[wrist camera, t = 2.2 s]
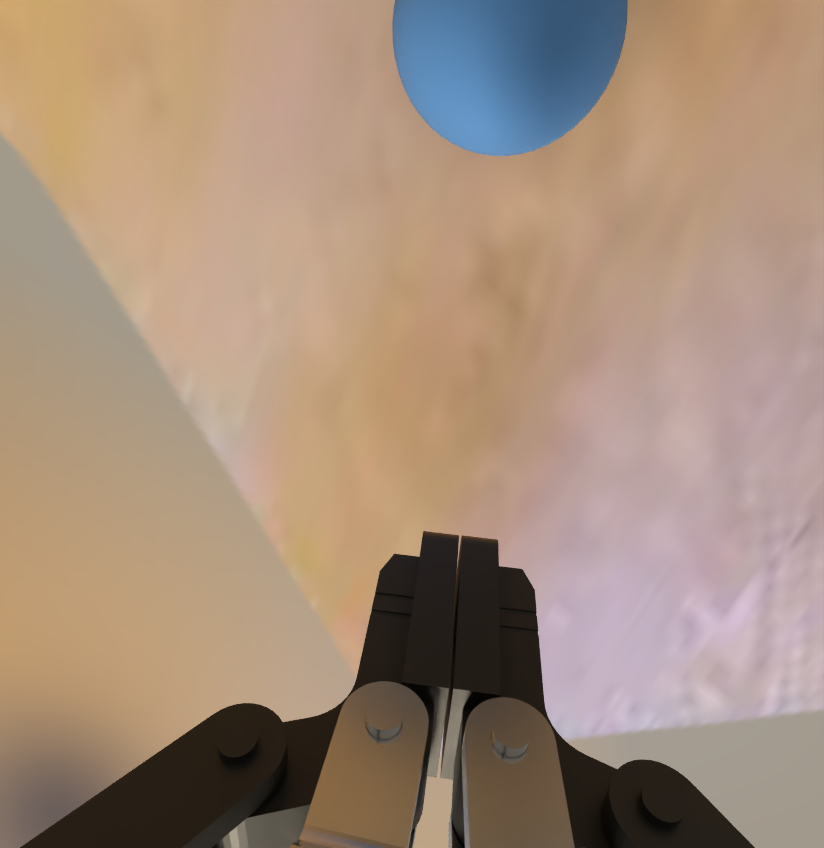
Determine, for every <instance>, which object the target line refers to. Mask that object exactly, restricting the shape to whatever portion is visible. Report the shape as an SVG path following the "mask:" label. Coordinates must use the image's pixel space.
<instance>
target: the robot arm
mask: <svg viewBox="0 0 824 848" xmlns="http://www.w3.org/2000/svg"><path fill="white" fill-rule="evenodd" d="M458 543H459V535H451V534H443V533H435V532H426V531H424V532H423V537H422V544H421V551H420V557H416V556H408V555H399V554H394V555H393V556H392V557H391V559H390V560H389V561H388V562H387V563H386V565H385V566H384V567H383V568H382V569H381V570H380V574H379V578H378V583H377V587H376V592H375V597H374V601H373V606H372V612H371V615H370V620H369V624H368V629H367V633H366V638H365V643H364V647H363V652H362V656H361V661H360V666H359V670H358V675H357V679H356V682H355V685H354V687H353V689H352V691H351V692H350V694H349V695H348V697H347V698H346V699H345V700H344V701H343V702H342V703H340V704H339V705H338V706H337V707H335V708H334V709H332V710H330V711H328V712H326V713H324V714H321V715H318V716H314V717H310V718H305V719H299V720H293V721H288V722H282V721H281V719H280V718H279V716H277V715H276V714H275V713H274V712H273V711H272V710H270V709H268V708H267V707H264V706H262V705H258V704H252V703H251V704H250V703H243V704H236V705H233V706H229V707H226V708H224V709H222V710H220V711H218V712H217V713H215V714H213V715H212V716H210V717H209V718H207V719H206V720H204V721H203V722H202V723H200V724H199V725H197V726H196V727H194V728H193V729H191V730H190V731H188V732H187V733H186V734H184V735H183V736H181V737H180V738H179V739H177V740H175V741H174V742H173V743H171V744H170V745H168V746H167V747H165V748H164V749H162V750H161V751H159V752H158V753H157V754H155V755H154V756H152V757H151V758H149V759H148V760H146V761H145V762H144V763H142V764H141V765H139V766H138V767H136V768H135V769H133V770H132V771H131V772H129V773H128V774H126V775H125V776H123V777H122V778H120V779H119V780H117V781H116V782H115V783H113V784H112V785H110V786H109V787H107V788H106V789H104V790H103V791H101V792H100V793H99V794H97V795H96V796H94V797H93V798H91V799H90V800H89V801H87V802H86V803H84V804H83V805H81V806H80V807H78V808H77V809H76V810H74V811H72V812H71V813H70V814H68V815H67V816H65V817H64V818H62V819H61V820H59V821H58V822H57V823H55V824H54V825H52V826H51V827H49V828H48V829H46V830H45V831H44V832H42V833H41V834H39V835H38V836H36V837H35V838H33V839H32V840H30V841H29V842H28V843H26V844H25V845H23V846H22V847H20V848H413V845H414V839H415V833H416V827H417V824H418V822H419V820H420V817H421V815H422V810H423V803H424V795H425V787H426V780H427V776H431V777H437V770H438V763H439V756H440V749H441V742H442V734H443V727H444V734H443V748H442V763H441V778H446V779H453V793H452V809H451V816H450V821H449V848H755V847H754V846H753V845H752V844H751V843H749V841H748V840H747V839H746V838H745V837H744V836H743V835H742V834H741V833H740V832H739V831H738V830H737V829H736V828H735V827H734V826H733V825H732V824H731V823H730V822H729V821H728V820H727V819H726V818H725V817H724V816H723V815H722V814H721V813H720V812H719V811H718V810H717V809H716V808H715V807H714V806H713V805H712V803H710V801H708V799H707V798H706V797H705V796H704V795H703V794H702V793H701V792H700V791H699V790H698V789H697V788H696V787H695V786H694V785H693V784H692V783H691V782H690V781H689V780H688V779H687V778H685V777H684V776H683V775H682V774H680V773H679V772H678V771H676V770H674V769H673V768H671V767H669V766H667V765H664V764H662V763H659V762H655V761H652V760H634V761H631V762H627V763H626V764H624V765H622V766H621V767H620V768H619V769H618V770H617V769H615V768H613V767H611V766H609V765H607V764H604V763H602V762H600V761H598V760H596V759H594V758H591V757H589V756H587V755H585V754H583V753H581V752H579V751H578V750H576V749H575V748H573V747H572V746H570V745H569V744H568V743H567V742H566V741H565V740H564V739H563V738H562V737H561V736H560V735H559V734H558V733H557V732H556V730H555V729H554V727H553V726H552V724H551V722H550V720H549V718H548V716H547V713H546V710H545V704H544V695H543V683H542V671H541V659H540V648H539V636H538V624H537V616H536V601H535V590H534V588H533V586H532V585H531V583H530V581H529V580H528V578H527V576H526V575H525V573H524V571H523V570H522V569H517V568H509V567H500V566H499V558H498V540H495V539H487V538H478V537H470V536H462V537H461V544H460V551H459V559H458V567H457V558H458ZM456 573H457V574H456Z"/></svg>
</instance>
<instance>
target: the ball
mask: <svg viewBox="0 0 824 848" xmlns="http://www.w3.org/2000/svg"><path fill="white" fill-rule="evenodd" d="M626 24H627V0H395V4H394V13H393V46H394V54H395V60H396V64H397V68H398V72H399V75H400V78H401V81H402V83H403V86H404V89H405V91H406V93H407V95H408V97H409V99H410V101H411V102H412V104H413V106H414V107H415V108H416V110H417V111H418V113H419V114H420V116H421V117H422V118H423V119H424V120H425V121H426V123H427V124H428V125H429V126H430V127H431V128H432V129H433V130H435V131H436V132H437V133H438V134H439V135H440V136H442V137H443V138H445V139H446V140H448V141H450V142H451V143H453V144H455V145H457V146H459V147H461V148H463V149H465V150H469V151H472V152H475V153H478V154H485V155H491V156H509V155H517V154H522V153H526V152H530V151H533V150H536V149H539V148H541V147H543V146H546V145H548V144H550V143H552V142H553V141H555V140H557V139H558V138H560V137H562V136H563V135H564V134H566V133H567V132H568V131H570V130H571V129H572V128H574V127H575V126H576V125H577V124H578V123H579V122H580V121H581V120H582V119H583V118H584V117H585V116H586V115H587V114H588V113H589V111H590V110H591V109H592V108H593V107H594V105H595V104H596V103H597V101H598V100H599V98H600V97H601V95H602V94H603V92H604V91H605V89H606V87H607V85H608V83H609V81H610V79H611V77H612V75H613V73H614V71H615V68H616V65H617V63H618V60H619V57H620V54H621V50H622V46H623V42H624V38H625V31H626Z"/></svg>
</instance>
